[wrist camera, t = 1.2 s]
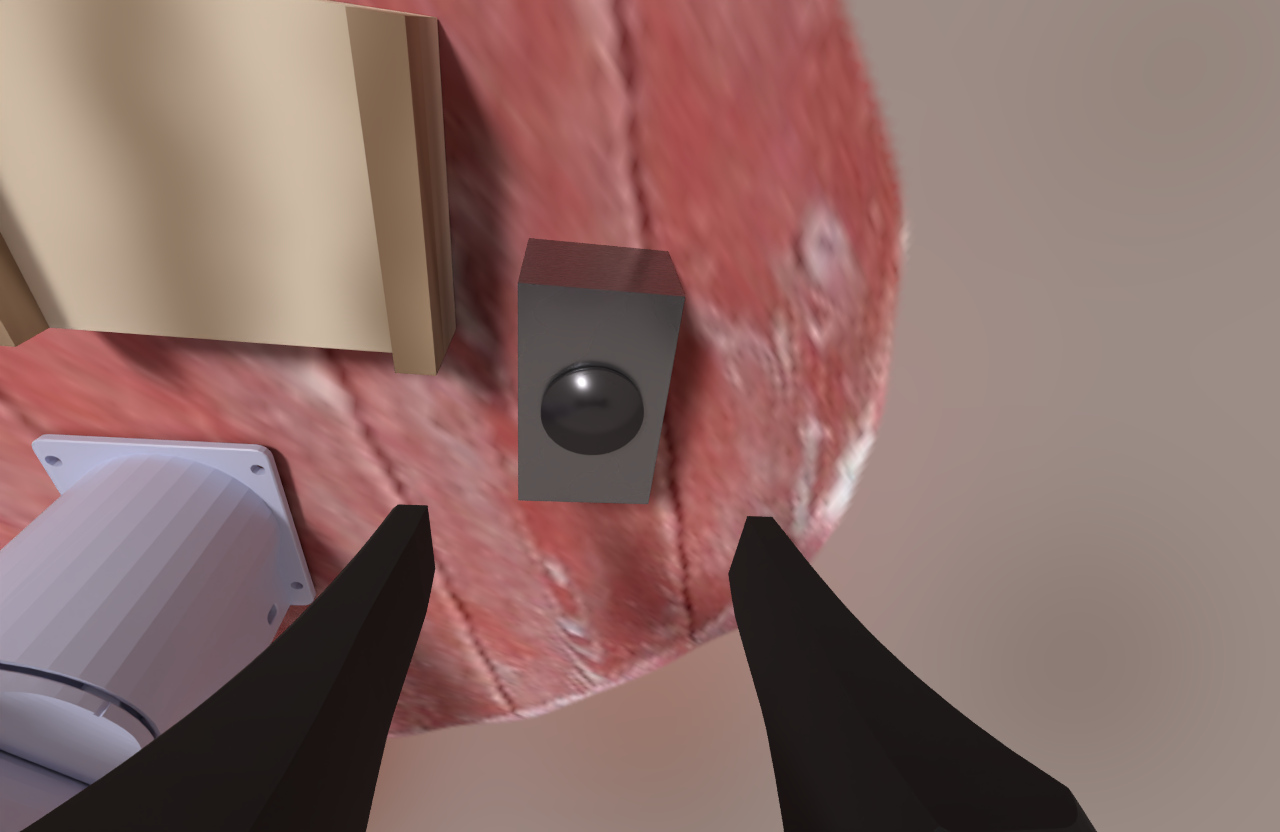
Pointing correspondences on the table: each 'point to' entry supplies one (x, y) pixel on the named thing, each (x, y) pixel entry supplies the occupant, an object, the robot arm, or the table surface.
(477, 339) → the table surface
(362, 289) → the stand
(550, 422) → the housing
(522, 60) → the table surface
